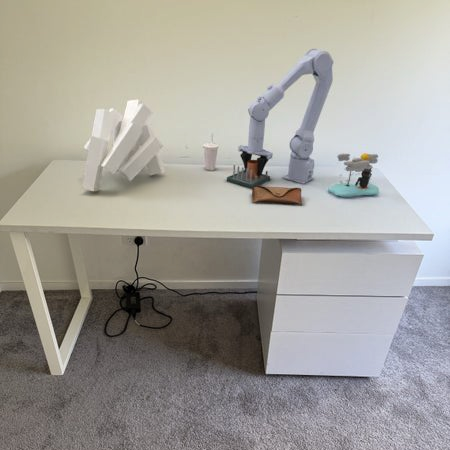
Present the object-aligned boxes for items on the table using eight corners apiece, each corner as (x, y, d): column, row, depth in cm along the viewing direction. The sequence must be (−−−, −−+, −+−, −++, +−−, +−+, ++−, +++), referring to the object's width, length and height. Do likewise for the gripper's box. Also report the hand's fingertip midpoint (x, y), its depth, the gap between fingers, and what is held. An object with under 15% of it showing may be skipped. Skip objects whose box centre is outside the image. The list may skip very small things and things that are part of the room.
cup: (262, 177, 153) (263, 161, 149) (254, 180, 149) (256, 164, 145) (251, 173, 155) (252, 158, 151) (243, 177, 152) (244, 161, 148)
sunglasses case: (252, 202, 134) (253, 182, 133) (251, 205, 141) (252, 186, 140) (304, 204, 134) (305, 185, 133) (300, 207, 141) (301, 188, 140)
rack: (270, 180, 154) (271, 164, 150) (251, 189, 145) (253, 172, 142) (245, 173, 159) (246, 157, 156) (226, 181, 151) (227, 165, 147)
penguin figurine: (370, 186, 152) (381, 147, 142) (384, 197, 143) (396, 155, 134) (323, 188, 148) (330, 148, 139) (334, 199, 140) (343, 157, 131)
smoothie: (217, 171, 160) (218, 136, 151) (202, 171, 159) (202, 135, 151) (218, 166, 165) (219, 132, 156) (203, 166, 165) (203, 131, 156)
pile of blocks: (139, 216, 135) (178, 117, 124) (56, 178, 130) (89, 71, 119) (154, 204, 167) (186, 125, 156) (88, 173, 162) (117, 89, 151)
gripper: (234, 135, 144) (232, 171, 152) (266, 143, 137) (263, 180, 145) (244, 132, 148) (242, 167, 157) (277, 139, 142) (272, 175, 150)
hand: (253, 173), depth 151 cm, fingers closed on cup, 5 cm apart
